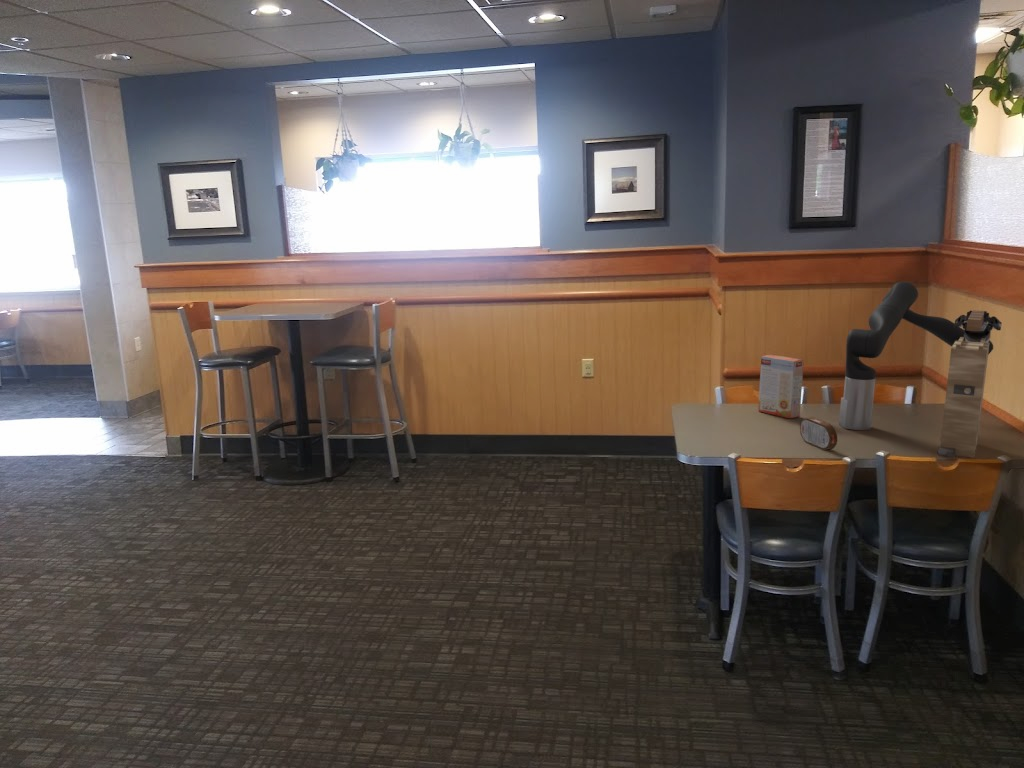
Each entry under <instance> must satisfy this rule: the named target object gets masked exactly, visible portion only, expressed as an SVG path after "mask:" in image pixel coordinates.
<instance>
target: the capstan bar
mask: <svg viewBox="0 0 1024 768" xmlns="http://www.w3.org/2000/svg"><path fill="white" fill-rule="evenodd" d="M971 311H972V312H971V314H970V316H969V318H968V320H967V328H966V331H978V332H980V330H981V327H982V325H983V323H984V311H985V310H976V309H975V310H973V309H972V310H971Z"/></svg>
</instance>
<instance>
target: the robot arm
mask: <svg viewBox="0 0 1024 768" xmlns="http://www.w3.org/2000/svg"><path fill="white" fill-rule="evenodd" d="M918 297H919V291H918V288H917V287H916V286H915V285H914V284H912V283H911V282H909V281H899V282H896V283H894V285H893V286H892V287H891V289H890V290H889V291H888V292H887V293H886V295H884V297H883V298H882V300H881V303H880V304H878V305H877V307H875V309H874V310H873V311H872V313H871V314H870V316H869V317H868V325H869V329H865V328H864V329H860V328H852V329H851V330H849V332H848V334H847V337H846V344H845V345H846V347H845V349H846V350H845V373H844V374H845V376H844V387H843V396H842V397H841V398H840V409H839V421H838V425H840V426H841V427H842V428H843V429H845V430H855V431H867V430H870V429H872V418H873V407H874V399H875V397H874V396H875V386H876V385H875V384H876V374H877V373H876V371H877V370H876V369H875V368H873V367H871V366H869V365H867V364H865V363H864V362H863V361H861V359H860V358H864V359H865V358H866V359H876V358H878V357H880V355H881V354H882V352H883V350H884V348H885V346H886V344H887V342H888V340H889V339H890V337H891V336H892V334H893V332H894V331H895V330H896V329H897V327H898V326H899V324H900V323H901V321H902V319H903V320H905V321H906V322H908V323H910V324H913V325H914V326H916V327H919V328H921V329H923V330H924V331H927V332H929V333H930V334H932V335H933V336H935V337H936V338H938V339H940V340H941V341H943V342H944V343H946V344H947V345H949V347H952V346H953V344H954V343H955V341H958V340H959V339H960V337H964V341H968V342H981V339H986V340H985V343H990V344H989V352H988V356H989V355H990V353H992V351H993V350H994V345H993V342H992V341H991V333H992V332H991V331H992V330H993V329H994V330H996V331H1001V330H1002V322H1001V321H1000V320H999V319H998V318H997V317H996V316H991V317H990V313H989V312H987V311H985V310H983V311H984V323H983V325H982V327H981V330H980V332H978V331H966V328H967V320H968V318H969V316H970V314H971V312H972V311H973V310H969V311H967V312H966V315H965V314H960V316H959V317H957V318H956V319H955V320H954V322H953V321H952V320H950V319H947V318H944V317H941V316H934V315H933V316H932V315H924V314H921V313H917V312H915V311H913V310H911V309H910V308H911V307H912V305H913V304H914V303H915V302H916V301H917V300H918Z"/></svg>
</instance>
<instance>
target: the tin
mask: <svg viewBox="0 0 1024 768" xmlns="http://www.w3.org/2000/svg"><path fill="white" fill-rule="evenodd" d="M799 431H800V432H799V433H800V435H801V438H802V439H803V441H804V442H805V443H807V444H808V445H810V446H811V445H812V446H814V447H816V448H818V449H821V450H823V451H826V450H833V449H835V448H836V446H837V444H838V433H837V430H836V428H835V427H834V425H833V424H832V423H830V422H829V421H828V422H827V421H825V420H822V419H819V418H817V417H815V416H809V417H805V418H803V419H802V420H801V421H800V427H799Z"/></svg>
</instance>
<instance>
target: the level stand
mask: <svg viewBox="0 0 1024 768" xmlns="http://www.w3.org/2000/svg"><path fill="white" fill-rule="evenodd" d="M985 340H986V339H981V342H968V341H964V337H960V339H959V340H958V341H955V343H954V344H953V346H951V348H950V356H949V364H948V366H949V367H948V373H947V383H946V390H945V391H946V392H945V393H946V394H945V398H944V399H945V400H944V408H943V409H944V410H943V416H942V417H943V418H942V425H941V426H942V427H941V435H940V436H941V437H940V445H939V446H938V451H937V454H938V455H939V456H942V457H946V458H952V457H955V456H958V457H959V456H960V457H966V456H967V458H973V457H975V455H976V451H977V447H976V446H978V440H979V432H980V423H981V417H982V406H983V399H984V393H985V392H984V390H985V382H986V375H987V366H988V358H989V355H988V352H989V344H990V343H985ZM975 450H976V451H975ZM968 456H969V457H968Z"/></svg>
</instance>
